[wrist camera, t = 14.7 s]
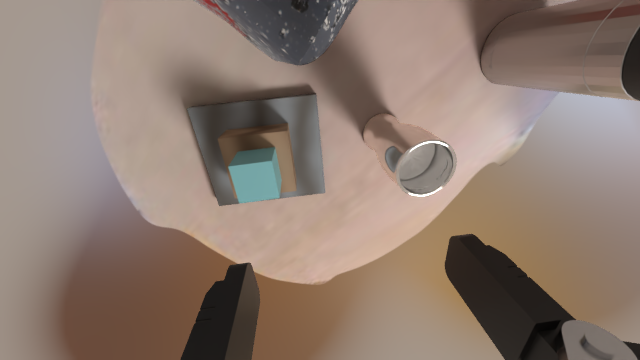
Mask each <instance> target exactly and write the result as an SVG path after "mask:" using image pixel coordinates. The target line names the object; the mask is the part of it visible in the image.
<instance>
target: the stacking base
mask: <svg viewBox="0 0 640 360" xmlns="http://www.w3.org/2000/svg"><path fill="white" fill-rule="evenodd" d="M187 110H188V113H189V116H190V119H191V122H192V125H193V128H194V131H195V134H196V137H197V140H198V143H199V146H200V149H201V152H202V155H203V158H204V161H205V164H206V167H207V171H208V174H209V177H210V180H211V183H212V186H213V189H214V192H215V195H216V198H217V201H218V204H219V206H223V205H231V204H239V201H238V198H237V194H236V191H235V188H234V184H233V181H232V178H231V174H230V171H229V168H228V166H229V165H230V163H231V161H232V160H233V158H234V157H235V155H236V154H237V152H240V151H248V150H256V149H263V148H271V147H275V149H276V154H277V159H278V164H279V169H280V174H281V179H282V182H281V190H280V198H287V197H296V196H304V195H312V194H320V193H325V183H324V172H323V161H322V151H321V140H320V129H319V118H318V107H317V96H316V93H315V94H306V95H296V96H287V97H278V98H268V99H259V100H249V101H240V102H231V103H221V104H212V105H203V106H193V107H189V108H187ZM276 199H279V198H276ZM269 200H271V199H269ZM261 201H263V200H261ZM254 202H255V201H254ZM246 203H247V202H246Z"/></svg>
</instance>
